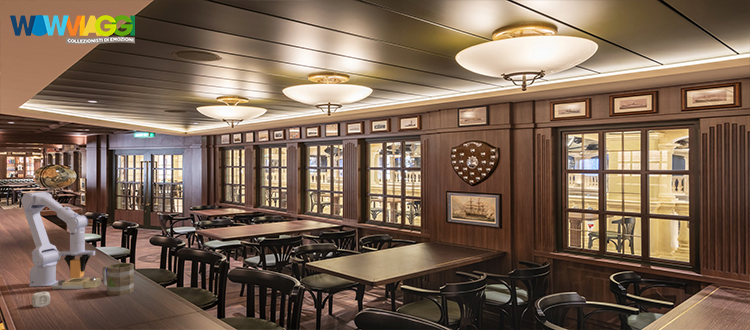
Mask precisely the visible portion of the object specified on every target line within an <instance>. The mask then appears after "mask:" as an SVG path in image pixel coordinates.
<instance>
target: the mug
mask: <svg viewBox="0 0 750 330" xmlns="http://www.w3.org/2000/svg"><path fill="white" fill-rule="evenodd" d="M106 268H107V281H106ZM134 271H135V264H134V263H132V262H120V263H113V264H110V265H105V266H103V267H102V284H103V286H105V287H106V295H107V296H111V297H113V296H114V297H119V296H125V295H129V294H132V293H133V292H135V283H134V282H135V272H134ZM131 292H132V293H131Z"/></svg>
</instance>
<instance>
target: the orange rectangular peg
mask: <svg viewBox="0 0 750 330" xmlns="http://www.w3.org/2000/svg"><path fill="white" fill-rule="evenodd" d="M69 272H70V273H69V274H70V275H69V277H70V278H69V279H71V278H83V277H84V276H85V271H82V272H81V262H80V258H75V259H73V260H71V261H70V269H69Z"/></svg>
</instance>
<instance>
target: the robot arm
mask: <svg viewBox="0 0 750 330" xmlns="http://www.w3.org/2000/svg"><path fill="white" fill-rule="evenodd" d="M20 202H21V205H22V208H23V212H24V215H25V219H26V222H27V224H28V225H27V226H28V227H29V230H30V234H31V236H32V240H33V242H34V245H35V248H34V249H33V250H32V251H31V256H32V257H31V258H32V264H33V266H32V267H31V268H30V271H29V285H28V287H30V288H31V287H52V286H53V285H55V284H57V283H58V281H59V280H57V274H56V273H57V265H58V262H60V259H61V257H64V261H65V263H66V264H67V266H68V269H69V270H70V261H71V260H73V259H76V256H77V257H79V259H80V262H81V272H82V271H84V272H85V270H86V266H87V263H88V262H89V259H90V258H91V256H93V257H94V256H96V250H88V249H87V250H86V248H85V247H86V227H87V226H88V224H89V220H88V218H87V216H86V215H83V214H82V215H80V214H79V213H77V212H75V211H74V210H72V207H70V206H64V207H63V205H61V203H59V202H57V200H55V199H54V198H53V195H52V194H51V193H50V192H48V191H45V190H44V191H36V192H35V191H34V192H24V194H23V195H22V197H21V199H20ZM46 207H47V208H48V209H50V210H52V211H53V212H55V213H56V217H58V218H59V219H60V220H62V221H63V222H64V223H66V227H67V229H68V232H69V250H65V251H63V250H62V251H59V250H58V249H57V246H56V245H54V244H52V243H51V242H50V239H49V236H48V234H47V230H46V228H45V224H44V221H43V219H42V215H41V211H42V210H44V209H45V208H46Z"/></svg>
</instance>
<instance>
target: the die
mask: <svg viewBox="0 0 750 330" xmlns="http://www.w3.org/2000/svg"><path fill="white" fill-rule="evenodd" d="M50 303H51V293H50V292H49V291H39V292H35V293H33V294H32V297H31V304H32V307H33V308H43V307H47V306H49V304H50Z"/></svg>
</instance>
